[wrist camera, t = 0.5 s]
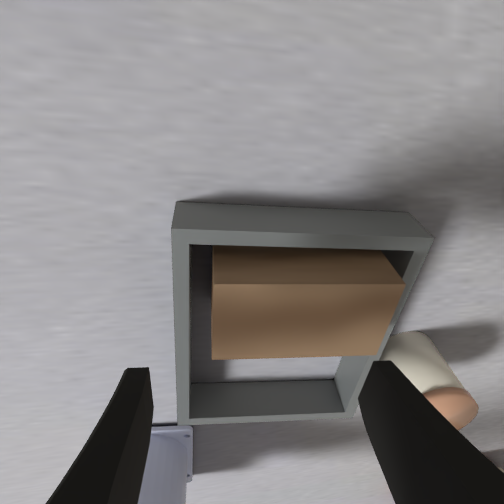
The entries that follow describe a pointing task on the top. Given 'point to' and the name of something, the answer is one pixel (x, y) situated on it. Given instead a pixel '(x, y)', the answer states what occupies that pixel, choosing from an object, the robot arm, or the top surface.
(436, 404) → the jar
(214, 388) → the tote
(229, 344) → the block
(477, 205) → the top surface
